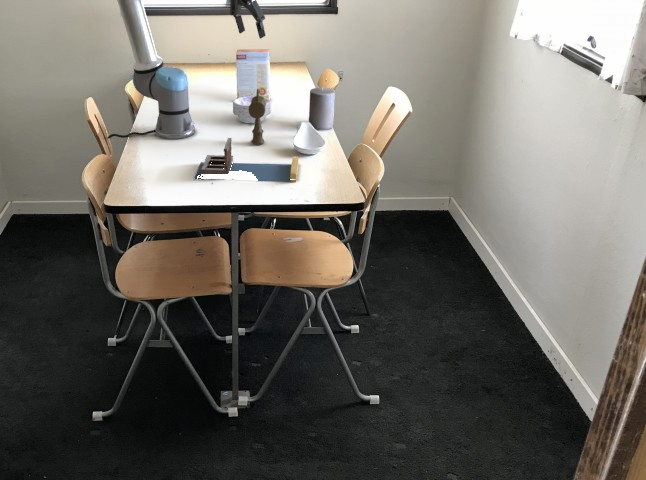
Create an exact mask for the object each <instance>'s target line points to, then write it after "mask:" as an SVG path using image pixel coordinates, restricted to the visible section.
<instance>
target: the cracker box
mask: <svg viewBox="0 0 646 480" xmlns="http://www.w3.org/2000/svg"><path fill="white" fill-rule="evenodd" d="M270 51H271V50H270V49H269V48H267V49H263V48H261V49H259V48H257V49H256V48H255V49H254V48H253V49H239V48H238V49H237V50H236V52H235V59H236V60H235V62H236V65H235V67H236V96H237V97H236V99H237V98H240V97H247V96H257V89H258V90H259V96H262V97H265V98H268V99H270V100H271V85H270V84H271V83H270V82H271V68H270V67H271V64H270V63H271V59H270V58H271V56H270V53H271V52H270Z"/></svg>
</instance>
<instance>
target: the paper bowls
mask: <svg viewBox="0 0 646 480" xmlns="http://www.w3.org/2000/svg"><path fill="white" fill-rule="evenodd" d="M253 97H255V96H247V97H240V98H237V97H236V98H235V99H233V101H232V114H233V115H234V116H236V117H237V118H238V120H239V121H240V122H242V123H245V124H255V118H253V117H251V116H250V114H249V106H250V104H251V100H252V98H253ZM264 98H265V97H264ZM265 100H266V107H265V114H264V115H263V117H261V118H260V122H263V121H265V119H266V117H267V116H269V115H270V114H271V111H272V109H271V106H272V105H271V104H272V102H271V98H270V99H268V98H265Z"/></svg>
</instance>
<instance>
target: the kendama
mask: <svg viewBox="0 0 646 480" xmlns="http://www.w3.org/2000/svg"><path fill="white" fill-rule="evenodd" d="M265 107H266V100H265V98H264V97H262V96H259V90H258V89H257V96H255V97H253V98H252V100H251V104H250V106H249V114H250V116H251V117H253V118H255V123H254V126H253V129H252V130H251V133H252V139H251V140H250V143H251V144H252V145H256V146H259V145H260V146H261V145H264V143H266V142H265V139H264V136H263V135H264V129H263V128H262V123H261V122H260V118H261V117H263V115H264V114H265Z"/></svg>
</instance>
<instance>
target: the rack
mask: <svg viewBox="0 0 646 480" xmlns="http://www.w3.org/2000/svg"><path fill="white" fill-rule="evenodd" d="M203 162H204V164H203V166H202V168H201V174H228V173H229V171H231V170H230V168H231V169H232V167H231V165H232V166H233V164H232V162H233V163H234V155H232V137H227V140H226V142H225V145H224V147H223V155H222V154H217V155H216V154H206V157H205V159H204V161H203ZM211 162H212V163H211ZM224 163H225V164H224ZM210 164H211V165H210ZM217 168H224V169H217ZM202 177H203V176H202Z"/></svg>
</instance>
